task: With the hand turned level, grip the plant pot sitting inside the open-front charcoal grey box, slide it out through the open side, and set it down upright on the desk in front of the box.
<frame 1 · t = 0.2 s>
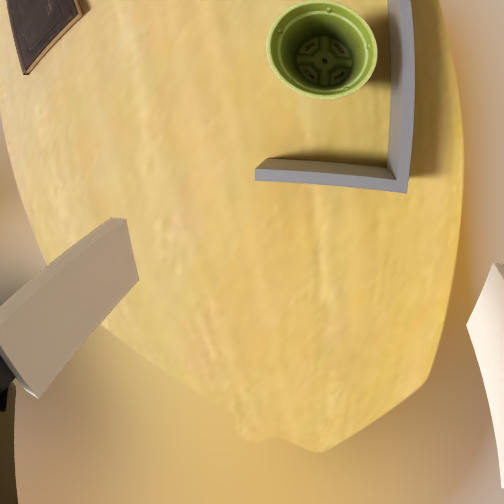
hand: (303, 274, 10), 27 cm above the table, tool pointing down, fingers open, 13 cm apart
open-front box: (332, 61, 28), on the table
plant pot: (323, 60, 29), on the table
hardcover book: (43, 3, 30), on the table
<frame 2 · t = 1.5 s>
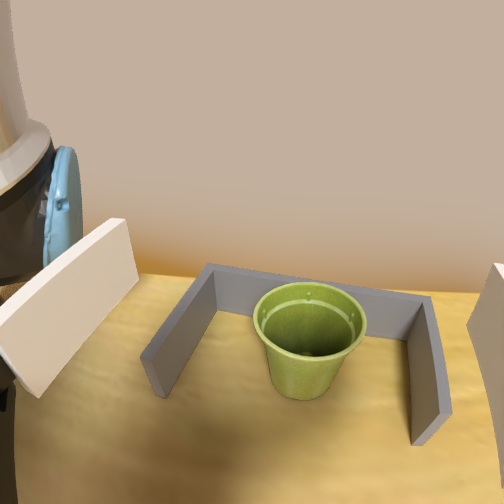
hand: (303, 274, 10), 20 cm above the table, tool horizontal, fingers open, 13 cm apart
open-front box: (302, 369, 30), on the table
plant pot: (300, 378, 29), on the table
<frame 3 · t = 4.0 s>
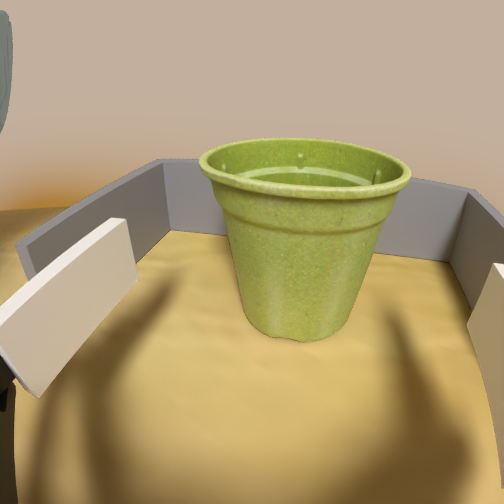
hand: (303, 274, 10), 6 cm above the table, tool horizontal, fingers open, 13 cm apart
open-front box: (298, 295, 18), on the table
plant pot: (295, 309, 18), on the table
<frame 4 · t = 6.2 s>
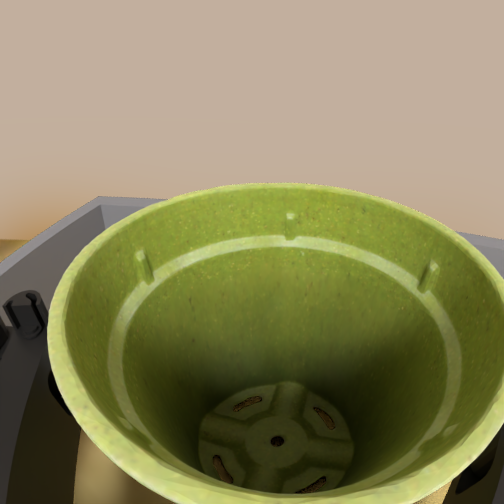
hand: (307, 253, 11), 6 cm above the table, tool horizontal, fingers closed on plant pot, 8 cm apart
open-front box: (279, 427, 11), on the table
plant pot: (273, 449, 10), on the table, touching gripper
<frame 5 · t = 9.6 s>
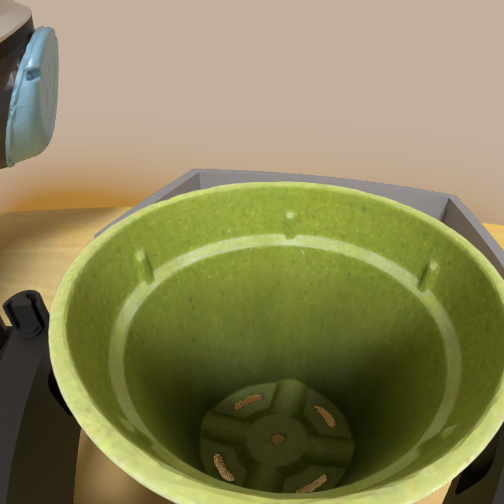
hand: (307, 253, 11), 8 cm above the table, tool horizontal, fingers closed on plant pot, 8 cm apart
open-front box: (313, 278, 24), on the table
plant pot: (274, 447, 10), point 2 cm above the table, touching gripper
when the fingers open (7 cm above the table, at t = 13.4 s): plant pot moves 4 cm, on the table.
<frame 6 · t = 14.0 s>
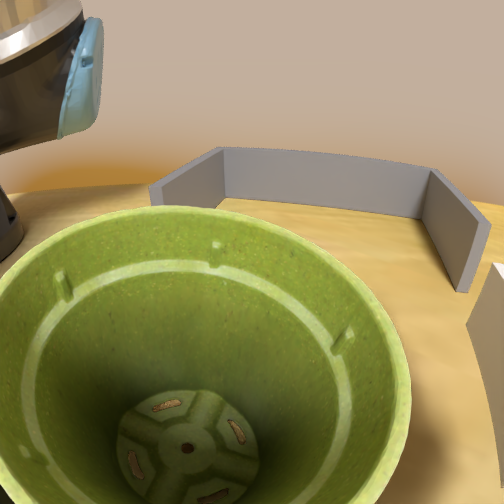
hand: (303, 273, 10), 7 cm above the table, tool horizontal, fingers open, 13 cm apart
open-front box: (320, 230, 29), on the table
plant pot: (185, 453, 11), on the table, touching gripper
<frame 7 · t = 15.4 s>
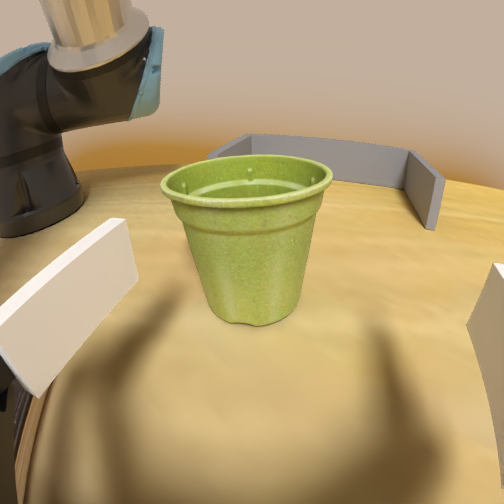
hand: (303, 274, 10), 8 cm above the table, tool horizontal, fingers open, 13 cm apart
open-front box: (326, 192, 39), on the table
plant pot: (252, 300, 21), on the table
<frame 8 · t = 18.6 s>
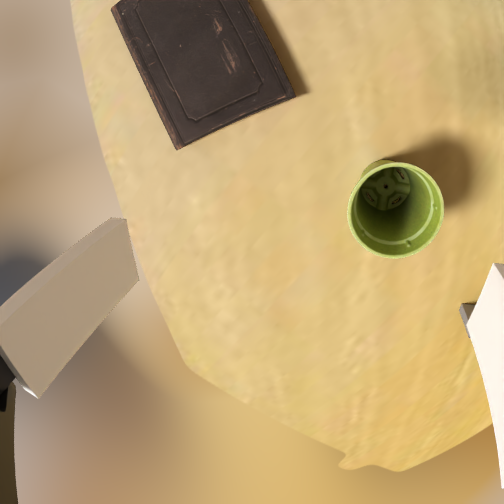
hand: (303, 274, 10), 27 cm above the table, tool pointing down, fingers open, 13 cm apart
plant pot: (384, 183, 33), on the table
hardcover book: (197, 42, 30), on the table
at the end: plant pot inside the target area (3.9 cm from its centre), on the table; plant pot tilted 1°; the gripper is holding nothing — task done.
